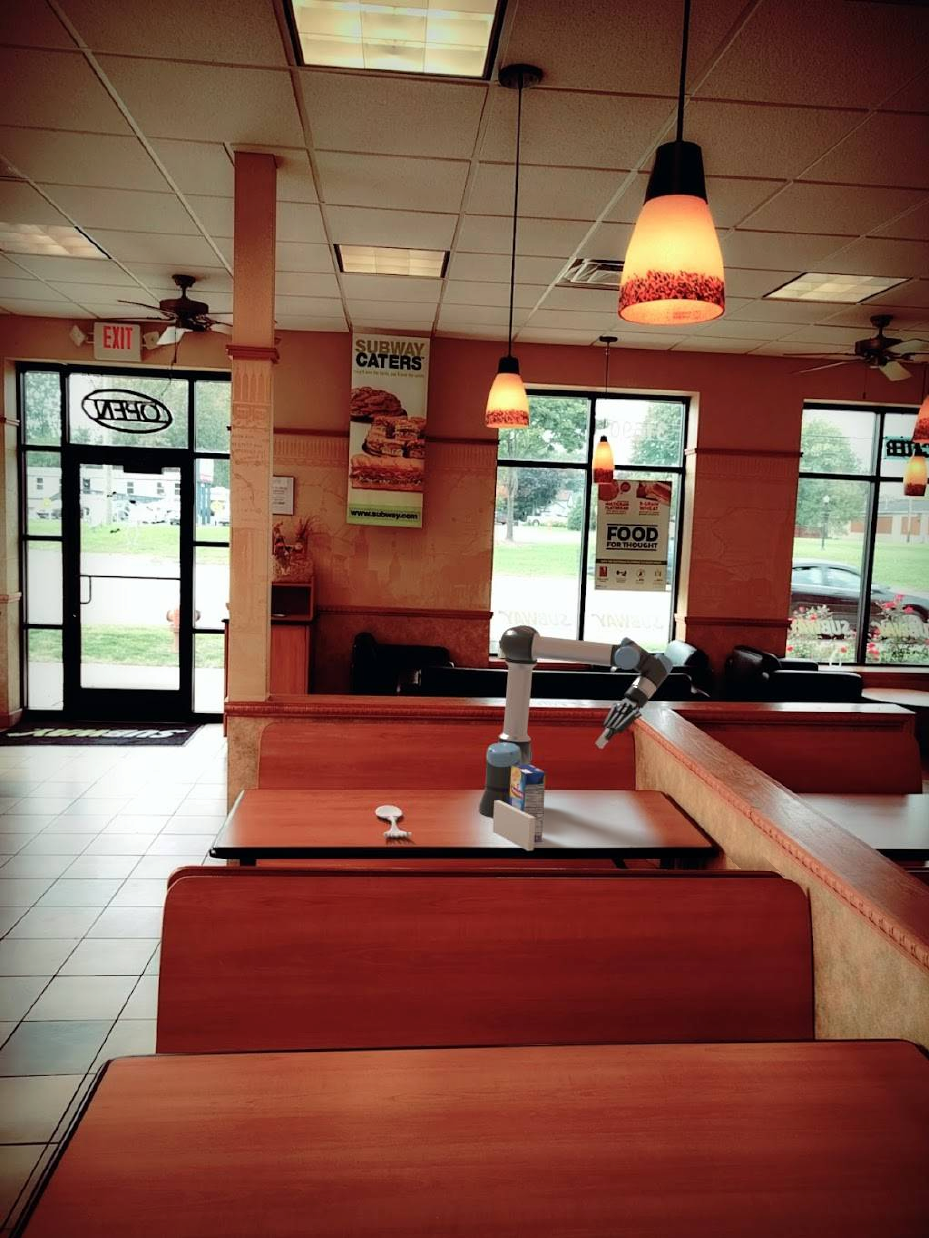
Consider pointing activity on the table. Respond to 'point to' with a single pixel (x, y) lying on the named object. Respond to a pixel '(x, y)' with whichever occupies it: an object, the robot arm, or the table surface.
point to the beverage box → (529, 793)
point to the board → (514, 825)
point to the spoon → (392, 815)
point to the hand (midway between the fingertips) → (598, 745)
